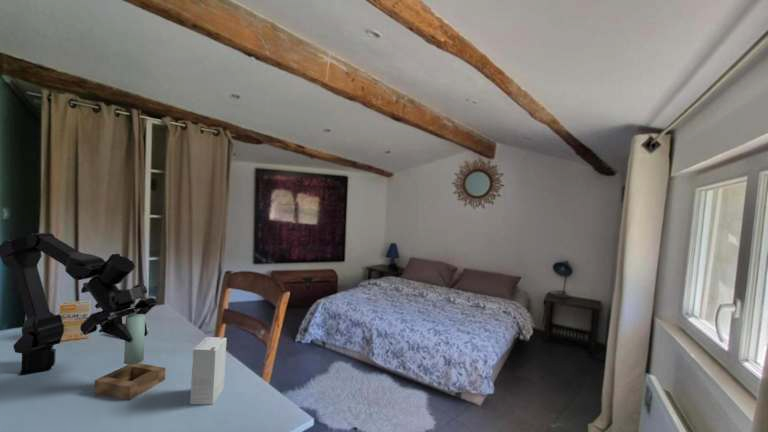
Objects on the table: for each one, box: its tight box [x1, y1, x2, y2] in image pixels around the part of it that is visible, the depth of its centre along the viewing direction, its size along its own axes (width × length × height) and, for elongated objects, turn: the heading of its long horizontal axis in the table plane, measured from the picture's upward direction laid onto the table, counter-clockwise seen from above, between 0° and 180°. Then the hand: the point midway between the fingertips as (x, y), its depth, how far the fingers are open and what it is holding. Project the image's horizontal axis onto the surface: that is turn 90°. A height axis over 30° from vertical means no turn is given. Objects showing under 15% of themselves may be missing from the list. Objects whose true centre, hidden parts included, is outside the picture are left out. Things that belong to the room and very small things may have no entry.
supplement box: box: [59, 299, 92, 342], centre depth 126 cm, size 8×5×13 cm, turn 123°
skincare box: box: [189, 336, 227, 405], centre depth 93 cm, size 8×6×15 cm
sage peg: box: [123, 314, 146, 365], centre depth 97 cm, size 4×4×12 cm
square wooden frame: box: [93, 362, 166, 401], centre depth 96 cm, size 11×11×4 cm
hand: (138, 338), depth 96 cm, fingers closed on sage peg, 4 cm apart
